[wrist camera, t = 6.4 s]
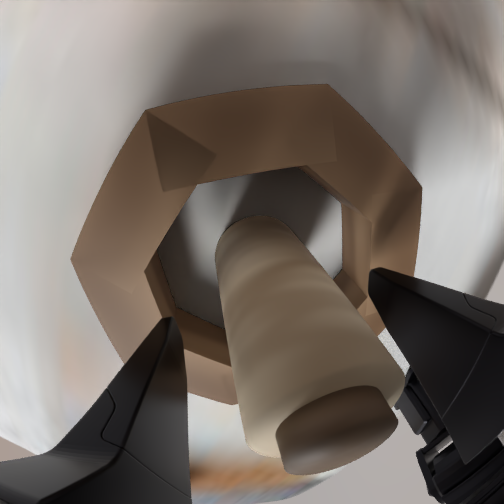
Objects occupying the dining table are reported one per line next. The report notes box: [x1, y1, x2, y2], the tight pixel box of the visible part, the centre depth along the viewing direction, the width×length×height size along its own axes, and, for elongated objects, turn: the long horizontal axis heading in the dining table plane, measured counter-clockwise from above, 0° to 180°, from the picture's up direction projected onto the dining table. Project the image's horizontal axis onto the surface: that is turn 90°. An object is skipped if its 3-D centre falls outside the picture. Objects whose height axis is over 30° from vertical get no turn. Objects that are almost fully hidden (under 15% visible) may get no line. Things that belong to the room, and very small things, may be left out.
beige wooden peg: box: [215, 216, 405, 475], centre depth 8 cm, size 4×4×9 cm
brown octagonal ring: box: [71, 84, 422, 405], centre depth 11 cm, size 13×13×2 cm
